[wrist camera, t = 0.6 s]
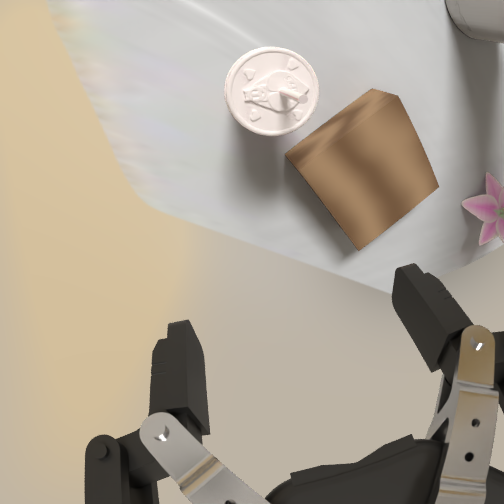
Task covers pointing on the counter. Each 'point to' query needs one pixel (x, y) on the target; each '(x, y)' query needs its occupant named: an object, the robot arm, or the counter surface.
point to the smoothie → (271, 91)
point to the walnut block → (366, 166)
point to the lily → (488, 210)
